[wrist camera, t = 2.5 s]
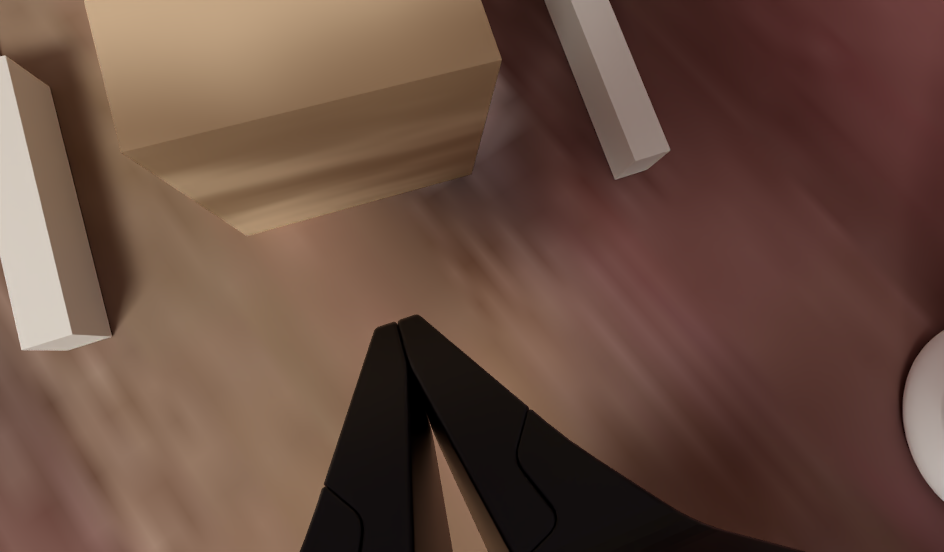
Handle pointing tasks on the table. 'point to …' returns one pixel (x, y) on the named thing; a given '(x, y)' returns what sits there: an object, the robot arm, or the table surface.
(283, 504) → the table surface
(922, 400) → the jar
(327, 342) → the table surface
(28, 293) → the white flat frame
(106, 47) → the oak block
